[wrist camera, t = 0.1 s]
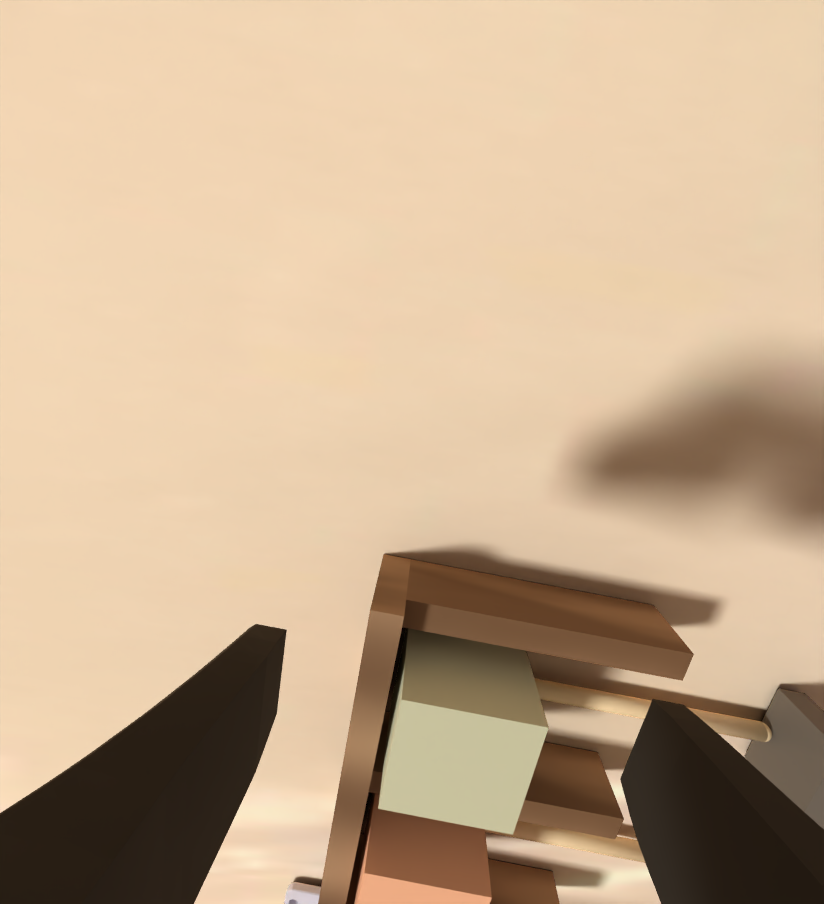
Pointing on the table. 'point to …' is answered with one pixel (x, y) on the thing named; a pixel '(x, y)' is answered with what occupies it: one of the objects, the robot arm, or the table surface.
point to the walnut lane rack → (510, 625)
